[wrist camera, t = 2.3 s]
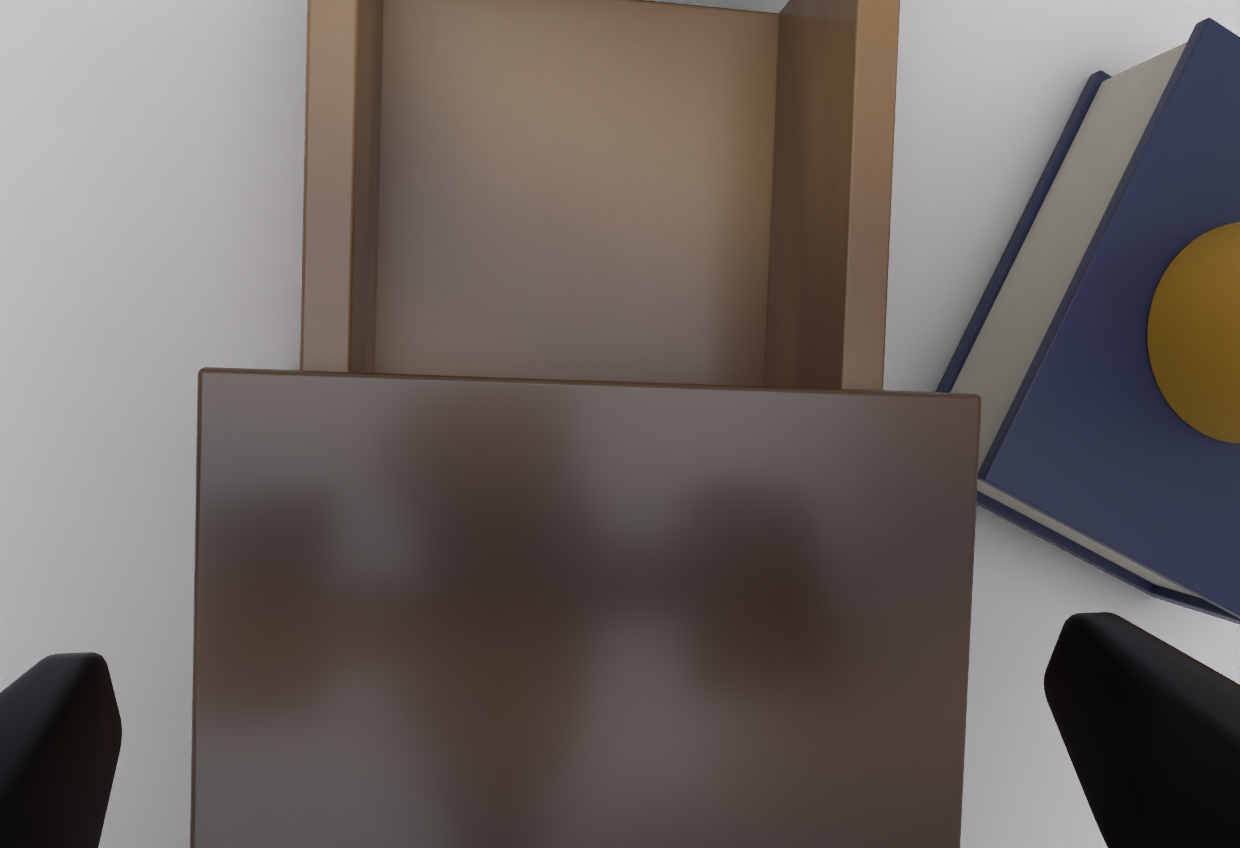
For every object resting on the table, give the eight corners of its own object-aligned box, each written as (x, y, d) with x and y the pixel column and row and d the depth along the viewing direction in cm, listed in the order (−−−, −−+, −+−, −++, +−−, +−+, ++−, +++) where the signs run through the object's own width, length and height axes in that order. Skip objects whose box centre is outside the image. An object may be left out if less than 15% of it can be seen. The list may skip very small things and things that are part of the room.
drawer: (323, -341, 21) (269, -617, 15) (838, -266, 23) (966, -487, 17) (304, 546, 21) (247, 607, 16) (804, 549, 23) (915, 605, 18)
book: (1154, 597, 26) (1279, 637, 22) (899, 463, 24) (983, 479, 21) (1332, 225, 26) (1487, 197, 22) (1091, 74, 25) (1209, 16, 21)
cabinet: (286, 371, 22) (196, 366, 15) (821, 389, 24) (983, 394, 17) (273, 1047, 23) (179, 1376, 15) (796, 1010, 25) (941, 1284, 17)
